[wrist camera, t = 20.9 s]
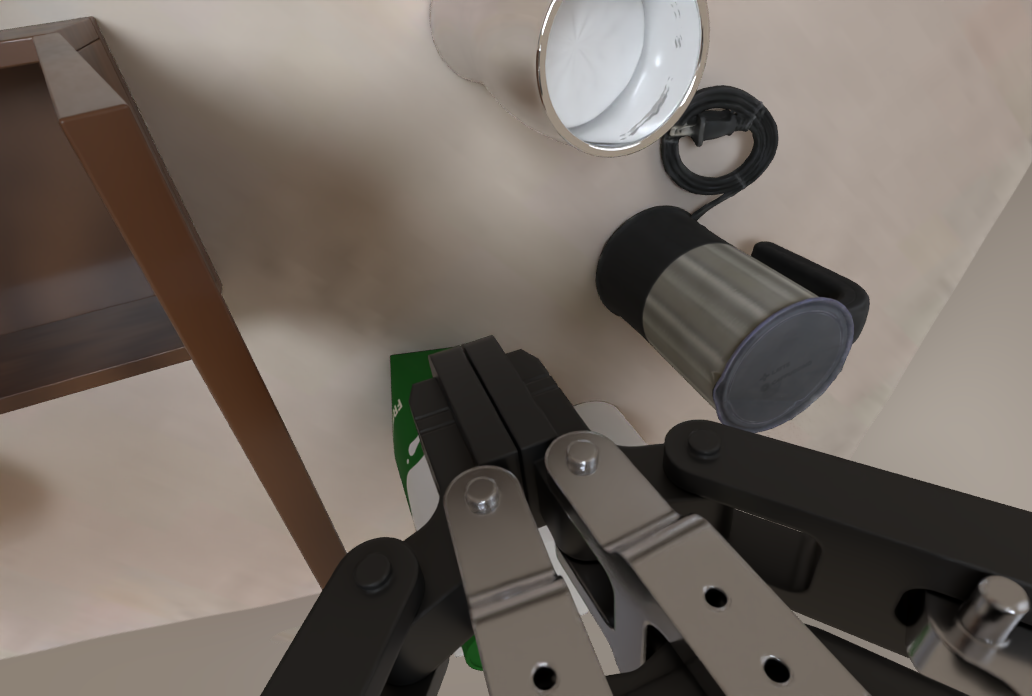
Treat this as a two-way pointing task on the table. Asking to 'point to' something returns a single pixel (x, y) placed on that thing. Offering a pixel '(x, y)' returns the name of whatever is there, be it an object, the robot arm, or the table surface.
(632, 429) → the pale grey rounded piece
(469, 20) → the beer glass
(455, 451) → the robot arm
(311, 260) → the table surface
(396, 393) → the milk carton
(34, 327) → the bin
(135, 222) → the bin lid
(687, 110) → the milk frother
